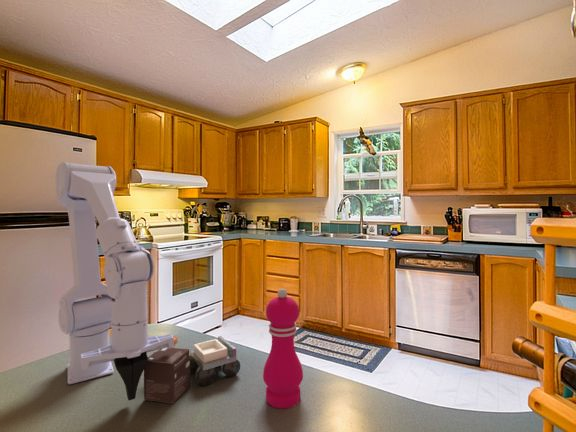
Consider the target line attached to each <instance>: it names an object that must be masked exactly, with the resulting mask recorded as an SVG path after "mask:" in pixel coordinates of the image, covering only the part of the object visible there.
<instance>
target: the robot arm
mask: <svg viewBox="0 0 576 432" xmlns="http://www.w3.org/2000/svg"><path fill="white" fill-rule="evenodd" d="M55 172H56V173H55V190H56V191H55V193H56V199H57V204H58V205H61V206H63V207H64V208H66V211H67V215H68V223H69V235H70V247H71V260H72V268H73V269H72V270H73V281H74V282H73V283H74V285H73V286H72V287H70V289H68V290H67V291H66V292H65V293H63V294H62V295H61V297H60V298H59V309H58V325H59V328H60V330H61V332H62V333H64V334H65V335H68V336H69V337H68V338H69V340H68V341H69V343H68V344H69V363H68V364H67V384H68V385H73V384H77V383H79V382H80V383H81V382H85V381H88V380H91V379H96V378H100V377H103V376H107V375H110V374H111V375H112V374H113V373H115V371H114V367H115V368H116V371H117V373H118V375H120V378H121V379H122V382H123V383H124V386H125V391H126V393H125V394H126V397H127V400H128V401H132V400H135V399H136V396H137V395H136V394H137V390H138V387H139V383H140V380H141V377H142V374H144V368H145V367H146V365H147V362H148V357H149V356H148V353H151V352H156V351H158V350H160V349H163V348H174V337H173V336H174V335H173V334H172V333H171V334H169V333H168V334H164V335H163V334H162V335H155V336H149V332H148V331H149V330H148V329H149V327H148V326H149V324H148V323H149V321H148V318H149V317H148V313H149V312H148V309H149V308H148V282H149V281H151V279H152V278H153V275H154V268H155V266H154V260H153V257H152V254H151V252H150V251H149V250H147V249H146V248H144V246H143V245H139V243H138V241H137V239H136V237H135V234H134V232H133V230H132V227H131V225H130V223H129V221H128V220H126V219H125V218H121V217H120V214H119V210H118V209H119V208H118V207H117V203H116V200H115V199H116V198H115V195H114V194H115V190H116V187H117V174H116V171H115V170H114V169H113V167H112V166H110V165H105V166H102V165H91V164H81V163H70V162H66V161H62V162H61V163H59V164H58V165H57V167H56V171H55ZM96 222H98V226H97V224H96ZM98 243H99V246H100V248H101V251H102V253H103V256H104V259H105V263H104V267H103V272H104V273H103V274H104V280H105V282H106V283H104V282H102V280H101V278H102V277H101V267H100V255H99V246H98ZM95 296H97V297H95ZM91 297H92V298H91ZM86 298H87V299H86ZM81 299H82V300H81ZM77 300H78V301H77ZM110 329H111V330H110ZM110 331H111V344H110ZM112 362H113V363H114V367H113V363H112Z"/></svg>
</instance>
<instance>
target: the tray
mask: <svg viewBox="0 0 576 432" xmlns="http://www.w3.org/2000/svg"><path fill="white" fill-rule="evenodd" d="M193 350H194V353H195V354H196V355H197V356H198V357H199V358H200V359H201V360H202V361H203V362H204V363H205V362H209V361H212V360H216V359H219V358H223V357H226V356H227V348H226V347H225V346H224V345H223V344H222V343H220V342H219V341H218V338H214V339H211V340H210V339H209V340H205V341H203V342H198V343H195V344H193Z"/></svg>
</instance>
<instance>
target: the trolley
mask: <svg viewBox="0 0 576 432" xmlns="http://www.w3.org/2000/svg"><path fill="white" fill-rule="evenodd" d="M217 340H218V341H219V342H220V343H222V344H223V345H224V346H225V347H226V348H227V356H226V357H223V358H219V359H216V360H212V361H209V362H205V363H204V362H203V361H202V360H201V359H200V358H199V357H198V356H197V355H196V354H195V353H194V349H192V350H189V360H190V373H192V374H194V376H195V380H196V381H197V382H198V384H199V385H201V386H202V387H207V386H209V385H211V384H212V383H213V382H214V381H215V379H216V376H217V372H216V369H215V368H216V367H219V366H220V369H221V372H222V373H223V374H224V375H225V376H226V377H228V378H234V377H235V376H237V374H239V372H240V369H241V362H240V361H239V360H238V359H237V348H236V347H235V346H234V345H233V344H231V343H230V342H229V341H228V340H227V339H225V338H224V337H223V336H222V335H219V336H217Z"/></svg>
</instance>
